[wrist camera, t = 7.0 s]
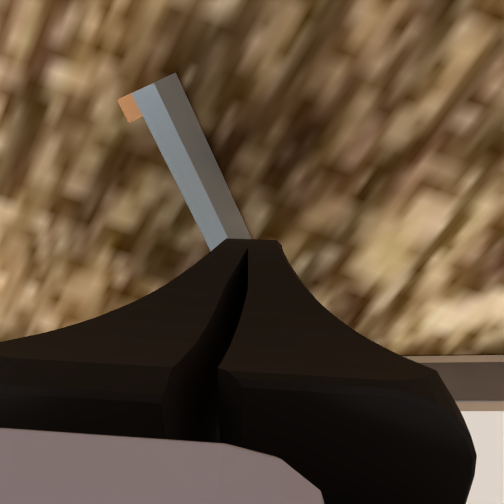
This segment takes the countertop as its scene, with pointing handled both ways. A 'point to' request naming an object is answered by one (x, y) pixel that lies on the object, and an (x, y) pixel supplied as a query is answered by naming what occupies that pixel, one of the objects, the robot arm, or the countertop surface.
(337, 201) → the countertop surface
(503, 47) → the countertop surface
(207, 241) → the side door
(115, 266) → the countertop surface
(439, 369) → the white box with knob
